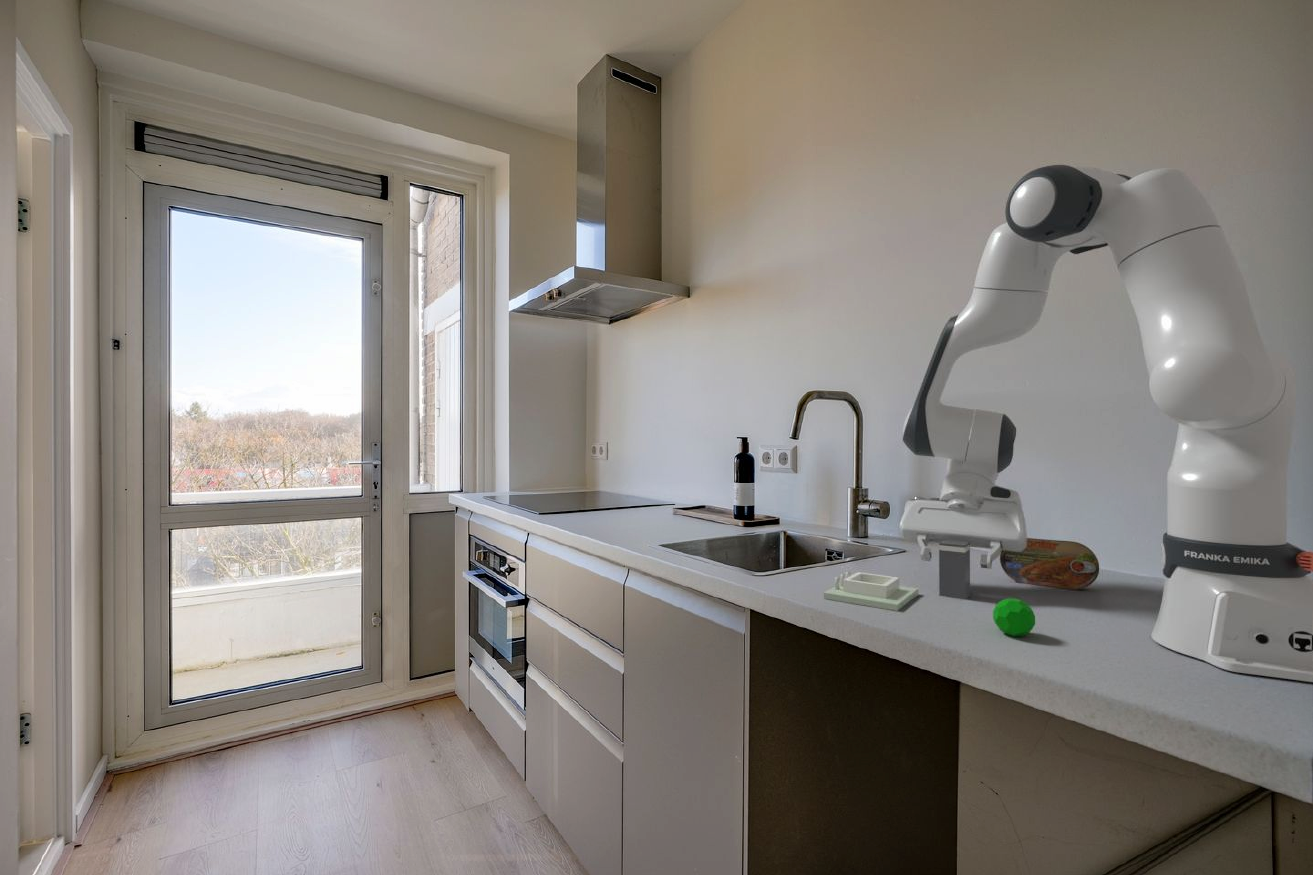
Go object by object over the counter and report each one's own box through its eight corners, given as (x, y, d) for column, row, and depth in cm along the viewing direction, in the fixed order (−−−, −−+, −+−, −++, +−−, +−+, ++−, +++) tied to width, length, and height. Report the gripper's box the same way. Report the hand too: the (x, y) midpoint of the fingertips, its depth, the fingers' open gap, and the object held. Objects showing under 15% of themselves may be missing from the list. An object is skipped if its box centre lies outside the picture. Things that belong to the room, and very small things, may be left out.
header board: (918, 594, 104) (918, 576, 104) (897, 611, 94) (897, 591, 94) (849, 583, 111) (849, 567, 111) (823, 598, 102) (823, 580, 102)
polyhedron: (1000, 626, 87) (1000, 593, 87) (1039, 634, 83) (1039, 599, 83) (988, 634, 83) (987, 599, 83) (1028, 643, 80) (1028, 607, 80)
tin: (999, 580, 113) (999, 535, 113) (1002, 577, 115) (1002, 533, 115) (1099, 593, 103) (1099, 544, 103) (1100, 589, 106) (1100, 541, 106)
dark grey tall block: (970, 594, 104) (970, 541, 104) (965, 599, 100) (965, 545, 100) (944, 590, 106) (944, 539, 106) (938, 595, 103) (938, 542, 103)
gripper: (904, 486, 116) (888, 544, 108) (1028, 492, 103) (1020, 559, 95) (910, 507, 119) (895, 565, 112) (1032, 515, 106) (1024, 581, 99)
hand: (954, 562), depth 103 cm, fingers open, 8 cm apart
